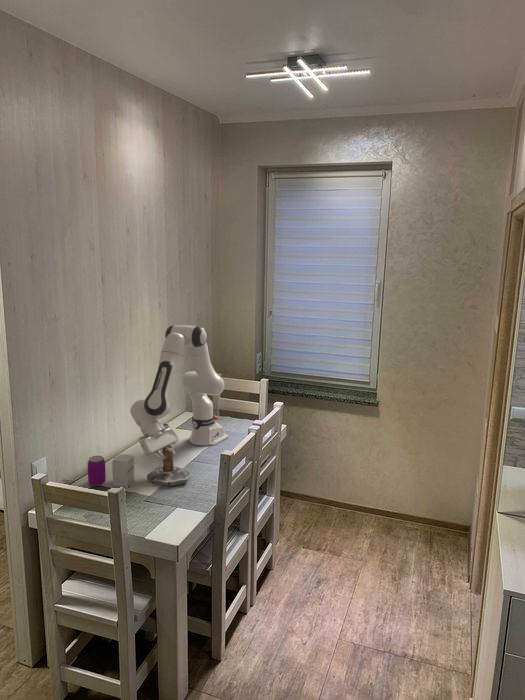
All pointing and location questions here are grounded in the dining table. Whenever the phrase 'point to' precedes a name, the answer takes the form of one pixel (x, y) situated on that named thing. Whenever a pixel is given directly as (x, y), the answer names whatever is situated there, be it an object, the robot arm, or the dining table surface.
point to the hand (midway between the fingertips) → (169, 456)
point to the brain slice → (168, 477)
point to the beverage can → (96, 471)
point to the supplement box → (123, 470)
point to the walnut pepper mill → (168, 460)
